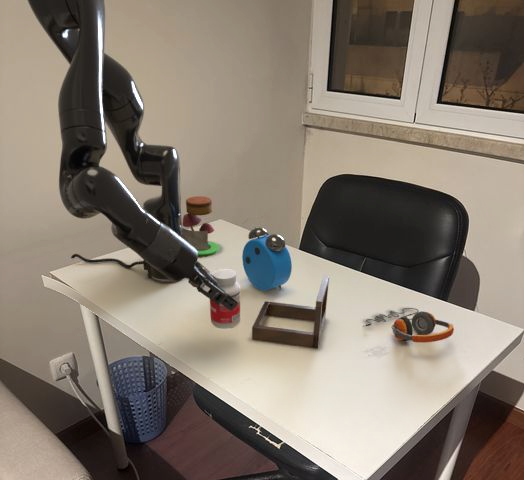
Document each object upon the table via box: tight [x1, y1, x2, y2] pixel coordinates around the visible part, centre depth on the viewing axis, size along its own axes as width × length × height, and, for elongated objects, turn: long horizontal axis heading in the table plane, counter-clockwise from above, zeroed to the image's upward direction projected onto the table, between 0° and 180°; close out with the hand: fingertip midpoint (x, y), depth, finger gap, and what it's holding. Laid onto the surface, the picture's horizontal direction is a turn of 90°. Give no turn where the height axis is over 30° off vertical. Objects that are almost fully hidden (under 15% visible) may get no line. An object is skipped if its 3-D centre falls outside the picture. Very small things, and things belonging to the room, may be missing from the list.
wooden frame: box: [251, 275, 330, 349], centre depth 110 cm, size 14×12×11 cm
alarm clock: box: [241, 226, 293, 292], centre depth 127 cm, size 13×6×15 cm, turn 39°
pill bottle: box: [209, 268, 241, 330], centre depth 102 cm, size 6×6×11 cm
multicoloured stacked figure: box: [182, 195, 220, 257], centre depth 148 cm, size 12×13×15 cm
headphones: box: [362, 307, 455, 343], centre depth 111 cm, size 17×5×20 cm
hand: (228, 299), depth 102 cm, fingers closed on pill bottle, 6 cm apart
